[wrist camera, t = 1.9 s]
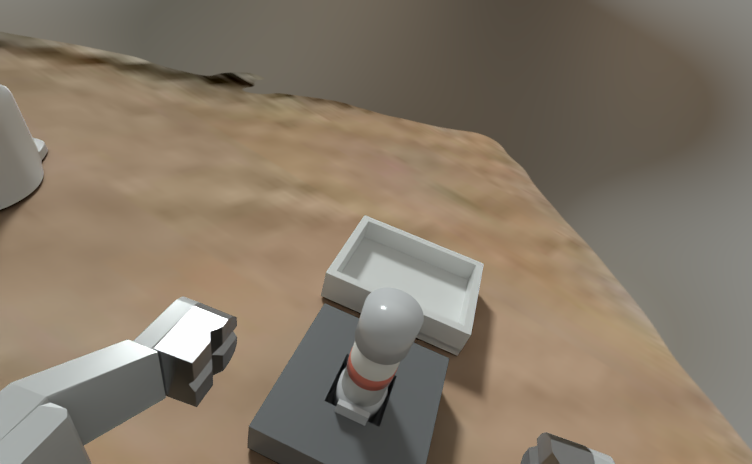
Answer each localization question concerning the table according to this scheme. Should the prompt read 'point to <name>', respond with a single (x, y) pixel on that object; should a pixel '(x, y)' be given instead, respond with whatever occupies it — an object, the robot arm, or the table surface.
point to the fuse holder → (346, 404)
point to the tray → (408, 279)
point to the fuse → (378, 348)
